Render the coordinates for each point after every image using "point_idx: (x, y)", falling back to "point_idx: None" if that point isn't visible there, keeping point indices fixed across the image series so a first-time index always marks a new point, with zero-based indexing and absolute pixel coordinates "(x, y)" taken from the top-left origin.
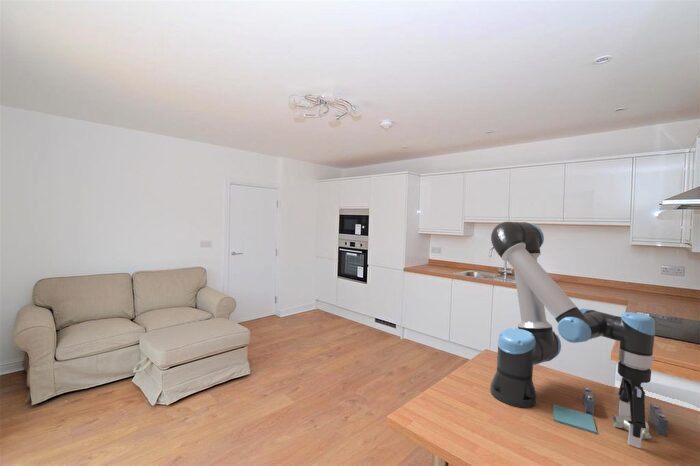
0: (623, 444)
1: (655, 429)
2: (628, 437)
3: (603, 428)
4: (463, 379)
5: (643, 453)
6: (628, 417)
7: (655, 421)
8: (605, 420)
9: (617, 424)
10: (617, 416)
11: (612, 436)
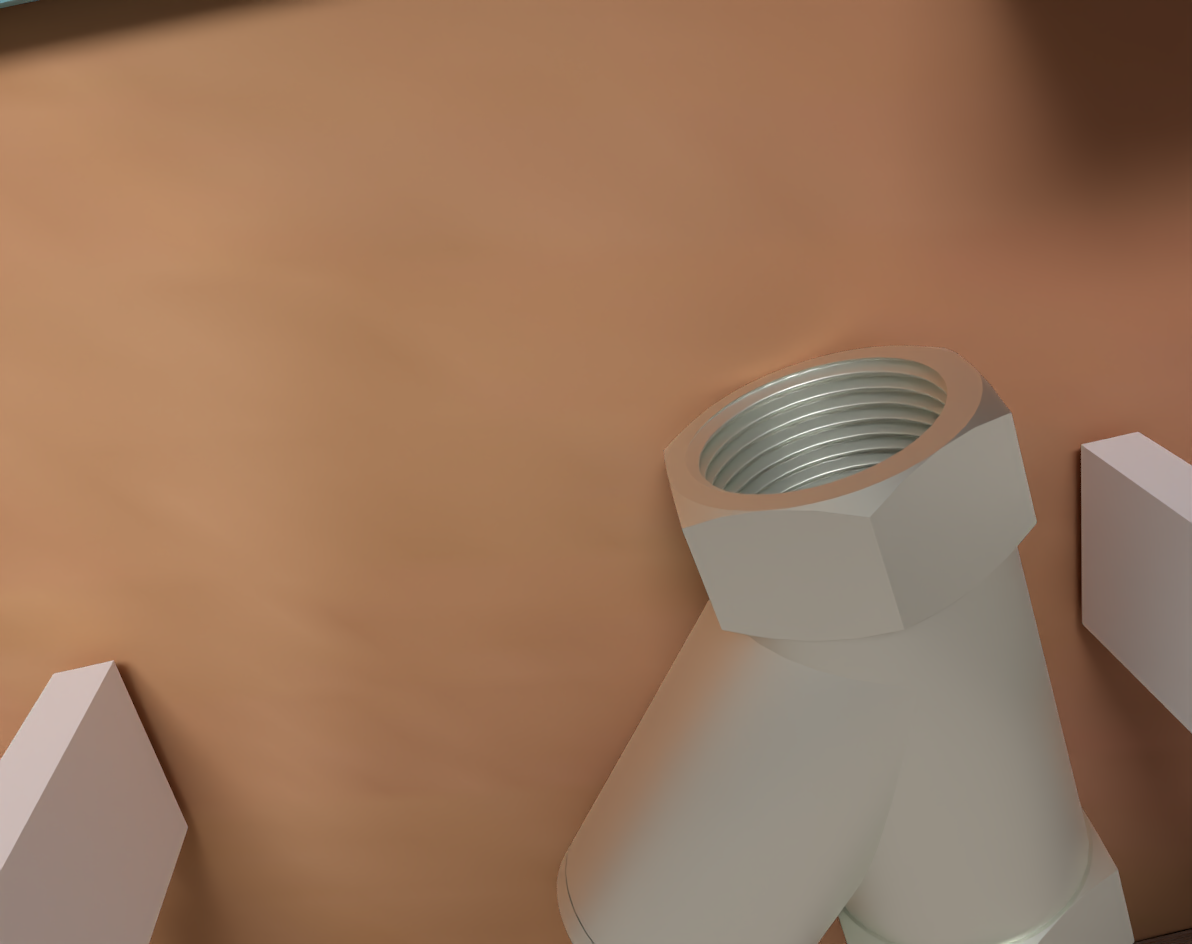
0: (3, 588)
1: (1171, 937)
2: (62, 751)
3: (406, 169)
4: None
5: None
6: (1172, 686)
7: None
8: (924, 181)
9: (675, 486)
10: (839, 551)
11: (162, 380)
